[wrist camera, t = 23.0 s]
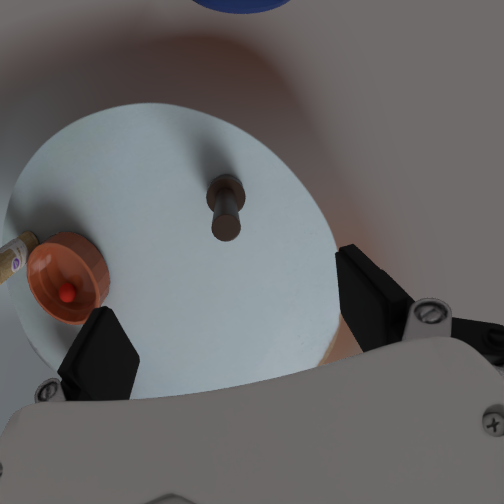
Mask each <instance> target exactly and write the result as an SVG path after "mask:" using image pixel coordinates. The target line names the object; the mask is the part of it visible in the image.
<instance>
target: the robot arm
mask: <svg viewBox="0 0 504 504" xmlns="http://www.w3.org/2000/svg"><path fill="white" fill-rule="evenodd" d="M335 258H336V268H337V277H338V288H339V300H340V310H341V314H342V316H343V318H344V320H345V322H346V323H347V325H348V327H349V328H350V330H351V332H352V333H353V335H354V337H355V339H356V340H357V342H358V344H359V345H360V347H361V349H362V351H363V353H361V354H358V355H355V356H351V357H348V358H345V359H341V360H339V361H335V362H332V363H329V364H325V365H322V366H318V367H315V368H311V369H308V370H304V371H301V372H297V373H293V374H289V375H285V376H281V377H277V378H273V379H268V380H264V381H259V382H255V383H250V384H245V385H240V386H235V387H230V388H224V389H218V390H212V391H206V392H200V393H193V394H185V395H177V396H168V397H158V398H147V399H133V400H129V398H130V395H131V391H132V387H133V384H134V380H135V377H136V373H137V370H138V366H139V363H140V358H139V355H138V353H137V352H136V350H135V348H134V347H133V345H132V343H131V342H130V340H129V338H128V337H127V335H126V333H125V332H124V330H123V328H122V326H121V325H120V323H119V321H118V319H117V317H116V316H115V314H114V312H113V310H112V309H110V308H108V307H107V306H103V307H98V308H94V309H93V311H92V312H91V314H90V315H89V317H88V319H87V320H86V322H85V324H84V325H83V327H82V329H81V330H80V332H79V334H78V335H77V337H76V339H75V340H74V342H73V344H72V346H71V347H70V349H69V351H68V353H67V354H66V356H65V358H64V360H63V362H62V364H61V365H60V367H59V369H58V371H57V373H58V374H59V375H60V377H61V378H62V381H61V382H60V381H59V380H58V379H57V378H50V379H48V380H46V381H44V382H43V383H42V384H41V385H40V386H39V387H38V388H37V390H36V393H35V404H31V405H28V406H25V407H23V408H21V409H20V410H18V411H16V412H15V413H14V414H13V415H12V416H11V418H10V419H9V421H8V423H7V425H6V427H5V429H4V431H3V433H2V435H1V437H0V504H504V326H503V325H499V324H494V323H487V322H481V321H474V320H467V319H460V318H454V317H452V311H451V308H450V307H449V305H448V304H446V303H445V302H444V301H441V300H439V299H436V298H423V299H420V300H418V301H416V302H415V301H414V300H413V299H412V298H411V297H410V296H409V295H408V294H407V293H406V292H405V291H404V290H403V289H402V288H401V287H400V286H399V285H398V284H397V283H396V282H395V281H394V280H393V279H392V278H391V277H390V276H389V275H388V274H387V273H386V272H385V271H384V270H381V269H380V268H379V267H378V266H376V265H375V264H374V263H373V262H372V261H371V260H370V259H369V258H368V257H367V256H366V255H365V254H364V253H363V252H362V251H361V250H360V249H358V248H357V247H356V246H355V245H354V244H351V245H347V246H344V247H340V248H339V252H336V253H335Z"/></svg>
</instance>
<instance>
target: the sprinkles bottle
mask: <svg viewBox="0 0 504 504" xmlns="http://www.w3.org/2000/svg"><path fill="white" fill-rule="evenodd" d="M38 245H39V242H38V240H37V238H36V236H35V235H34V234H33V233H31V232H29V231H25V232H23V233H22V234H21V235H20V236H18V237H17V238H15V239H13V240H11V241H10V242H8V243H7V244H5V245H4V246H3V247H1V248H0V285H1V284H2V283H3V282H4V281H5V280H7V279H8V278H9V277H10V276H11V275H12V274H14V273H15V272H17V271H18V270H19V269H20V268H21V267H23V266H24V265H25V264H26V263H27V262H28V259H29V256H30V254H31V252H32V251H33V250H34V249H35V248H36V247H37V246H38Z"/></svg>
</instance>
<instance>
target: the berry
mask: <svg viewBox="0 0 504 504" xmlns="http://www.w3.org/2000/svg"><path fill="white" fill-rule="evenodd" d="M59 296H60V298H61V300H62V301H64V302H67V303H69V302H72V301H73V300H74V299H75V297H76V290H75V288H74V286H73V285H71V284H69V283H65V284H63V285H62V286H61V287H60V289H59Z"/></svg>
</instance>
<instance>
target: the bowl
mask: <svg viewBox="0 0 504 504" xmlns="http://www.w3.org/2000/svg"><path fill="white" fill-rule="evenodd" d="M27 279H28V283H29V287H30V290H31V292H32V293H33V295H34V297H35V299H36V300H37V302H38V303H39V304H40V306H41V307H42V308H43V309H44V310H45V311H46V312H47V313H48V314H50V315H51V316H52V317H53V318H55V319H57V320H59V321H61V322H64V323H66V324H72V325H79V324H85V322H86V320H87V319H88V317H89V315H90V314H91V312H92V311H93V309H94V308H98V307H101V305H102V303H103V302H104V300H105V298H106V297H107V295H108V293H109V286H110V278H109V271H108V268H107V265H106V263H105V261H104V258H103V257H102V255H101V254H100V252H99V251H98V250H97V249H96V247H95V246H94V245H93V244H92V243H91V242H89V241H88V240H87V239H85V238H84V237H83V236H80V235H78V234H75V233H73V232H59V233H57V234H54V235H52V236H50V237H49V238H48V239H46V240H45V241H43V242H42V243H41V244H39V245H38V246H37V247H36V248H35V249H34V250H33V251H32V252H31V254H30V256H29V259H28V262H27ZM65 283H69V284H71V285H73V286H74V288H75V290H76V297H75V299H74V300H73V301H72V302H69V303H67V302H64V301H62V300H61V298H60V296H59V289H60V287H61V286H62V285H63V284H65Z"/></svg>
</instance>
